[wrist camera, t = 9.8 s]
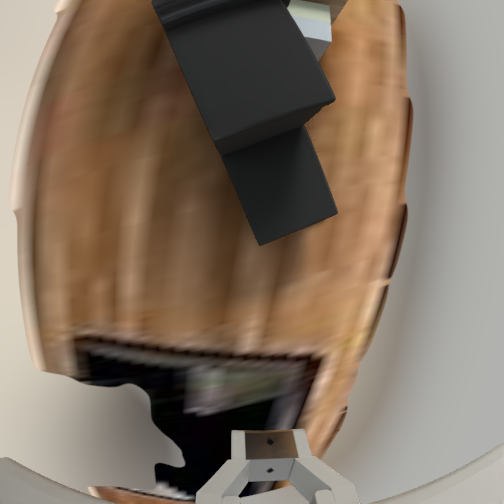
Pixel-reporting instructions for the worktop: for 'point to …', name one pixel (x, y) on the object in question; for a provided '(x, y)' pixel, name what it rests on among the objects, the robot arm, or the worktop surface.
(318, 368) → the worktop surface
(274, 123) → the black stepped block
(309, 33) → the book
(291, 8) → the book
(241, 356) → the worktop surface
